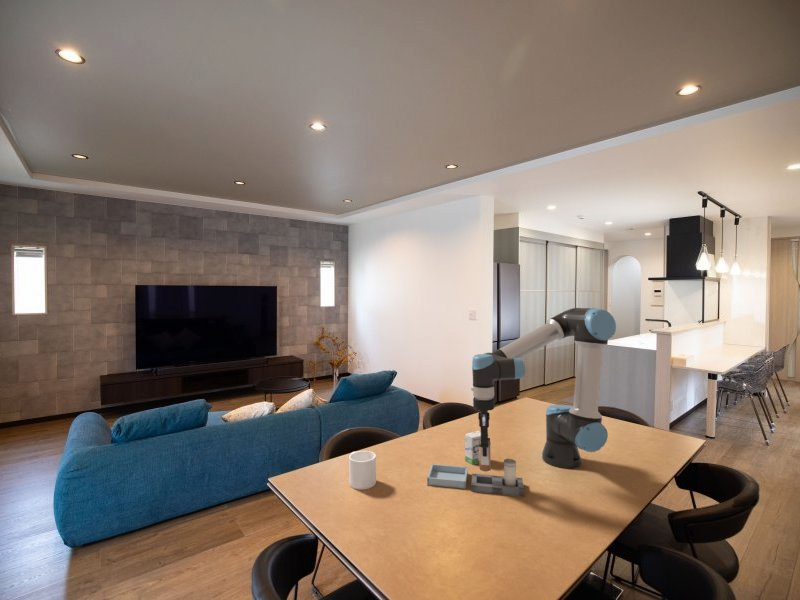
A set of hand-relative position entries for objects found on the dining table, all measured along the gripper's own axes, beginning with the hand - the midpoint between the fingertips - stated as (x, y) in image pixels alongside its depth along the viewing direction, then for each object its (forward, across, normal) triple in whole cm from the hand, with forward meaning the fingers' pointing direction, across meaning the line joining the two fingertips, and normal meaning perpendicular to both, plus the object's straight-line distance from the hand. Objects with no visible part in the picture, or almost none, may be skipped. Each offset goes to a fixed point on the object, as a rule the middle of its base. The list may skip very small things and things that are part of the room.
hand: (485, 461), depth 139 cm
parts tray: (+9, -3, -14) cm, 17 cm away
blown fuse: (+3, 0, 0) cm, 3 cm away
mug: (+9, +5, -46) cm, 47 cm away
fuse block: (+10, 0, +4) cm, 10 cm away
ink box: (+10, -22, -4) cm, 24 cm away
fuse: (+9, 0, +9) cm, 13 cm away
